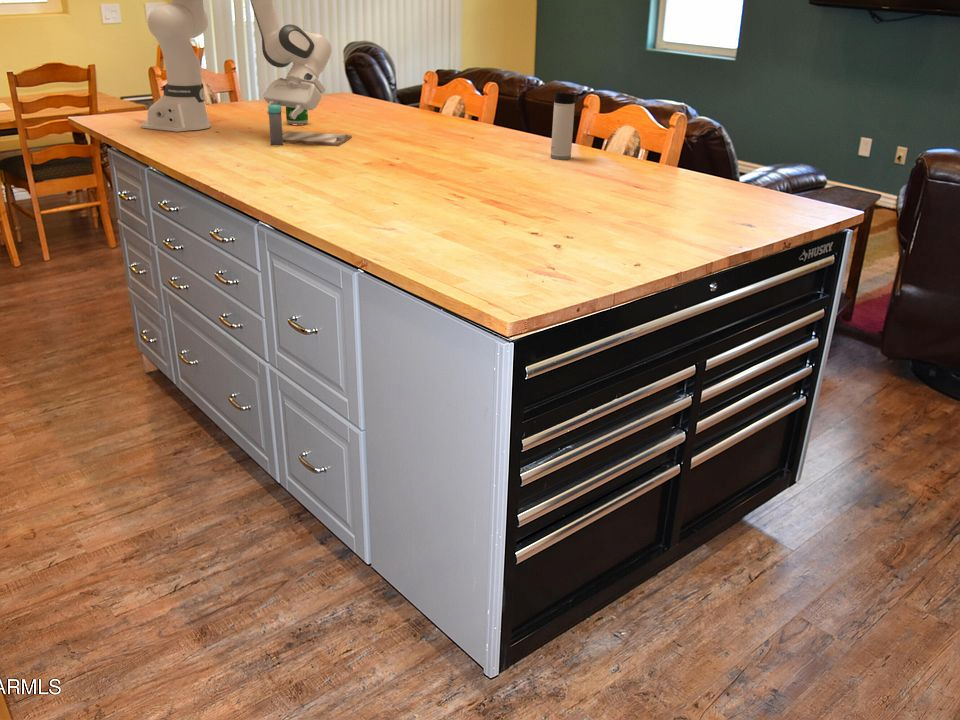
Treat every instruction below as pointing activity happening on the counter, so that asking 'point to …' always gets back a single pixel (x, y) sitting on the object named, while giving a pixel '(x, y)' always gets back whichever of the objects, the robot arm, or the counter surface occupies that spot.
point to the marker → (275, 124)
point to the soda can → (300, 118)
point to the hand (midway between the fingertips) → (280, 116)
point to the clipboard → (315, 138)
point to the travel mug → (562, 126)
